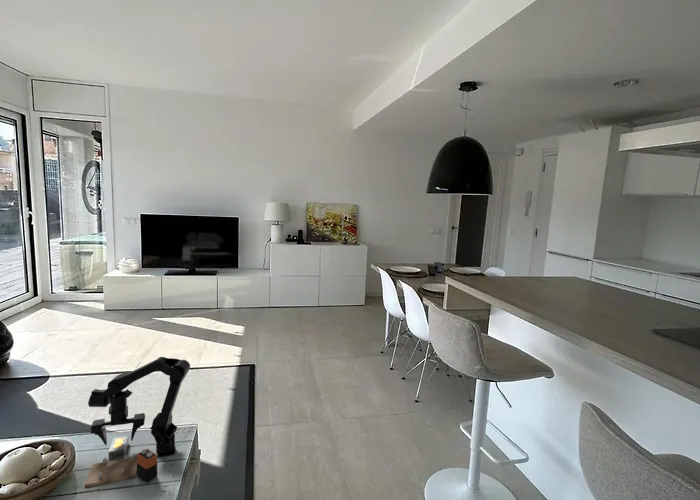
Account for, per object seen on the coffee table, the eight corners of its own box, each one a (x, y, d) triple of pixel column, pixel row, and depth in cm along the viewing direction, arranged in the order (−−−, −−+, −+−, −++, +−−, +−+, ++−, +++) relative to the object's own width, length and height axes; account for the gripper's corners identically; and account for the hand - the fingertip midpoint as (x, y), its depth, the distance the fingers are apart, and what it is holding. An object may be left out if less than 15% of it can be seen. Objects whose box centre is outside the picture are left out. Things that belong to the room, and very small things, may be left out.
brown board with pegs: (139, 457, 155) (138, 450, 154) (135, 477, 144) (135, 469, 143) (92, 466, 148) (92, 458, 148) (84, 487, 137) (84, 479, 137)
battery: (146, 483, 141) (146, 458, 140) (136, 476, 144) (136, 451, 143) (157, 477, 144) (157, 452, 143) (147, 470, 148) (147, 445, 147)
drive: (113, 446, 161) (113, 437, 161) (128, 444, 164) (128, 435, 163) (108, 461, 152) (108, 451, 152) (124, 458, 154) (124, 448, 154)
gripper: (146, 394, 167) (146, 427, 169) (95, 400, 160) (96, 435, 161) (143, 406, 157) (143, 442, 158) (89, 413, 149) (90, 451, 151)
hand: (119, 442), depth 157 cm, fingers open, 9 cm apart
